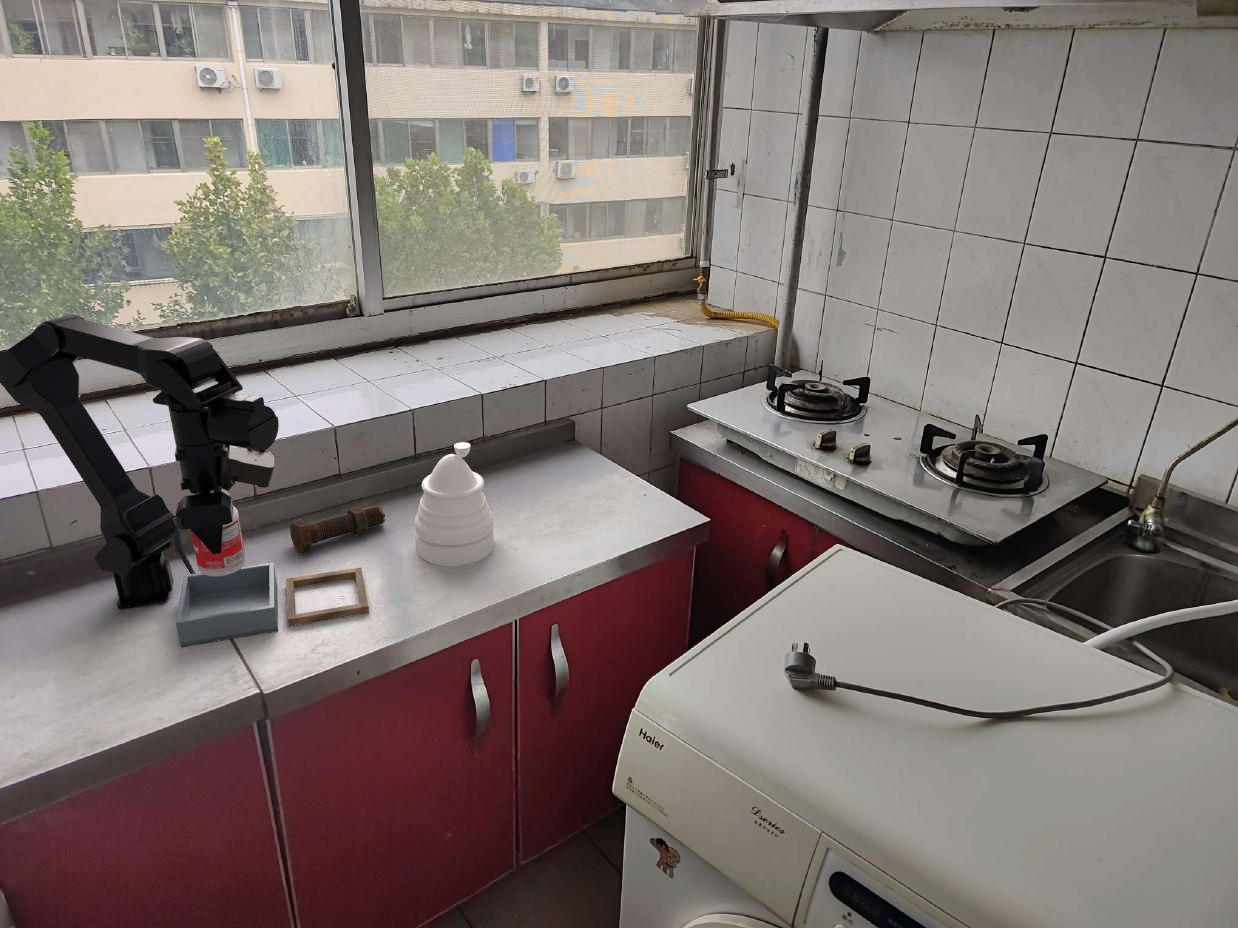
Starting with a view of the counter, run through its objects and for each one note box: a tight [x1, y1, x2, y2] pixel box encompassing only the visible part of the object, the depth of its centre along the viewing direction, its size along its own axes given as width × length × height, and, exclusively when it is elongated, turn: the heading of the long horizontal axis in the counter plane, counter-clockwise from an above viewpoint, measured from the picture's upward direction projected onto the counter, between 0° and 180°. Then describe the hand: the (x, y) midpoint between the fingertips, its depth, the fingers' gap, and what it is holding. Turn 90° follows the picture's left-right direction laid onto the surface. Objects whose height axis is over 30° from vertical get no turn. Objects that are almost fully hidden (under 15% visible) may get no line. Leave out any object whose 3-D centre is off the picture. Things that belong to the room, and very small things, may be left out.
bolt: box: [289, 506, 386, 555], centre depth 139 cm, size 6×5×15 cm
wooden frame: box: [285, 566, 370, 627], centre depth 123 cm, size 11×11×1 cm
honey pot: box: [414, 441, 495, 567], centre depth 135 cm, size 13×13×18 cm
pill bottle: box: [190, 489, 247, 576], centre depth 113 cm, size 6×6×11 cm
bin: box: [175, 562, 279, 648], centre depth 118 cm, size 12×12×4 cm
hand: (218, 541), depth 114 cm, fingers closed on pill bottle, 6 cm apart
